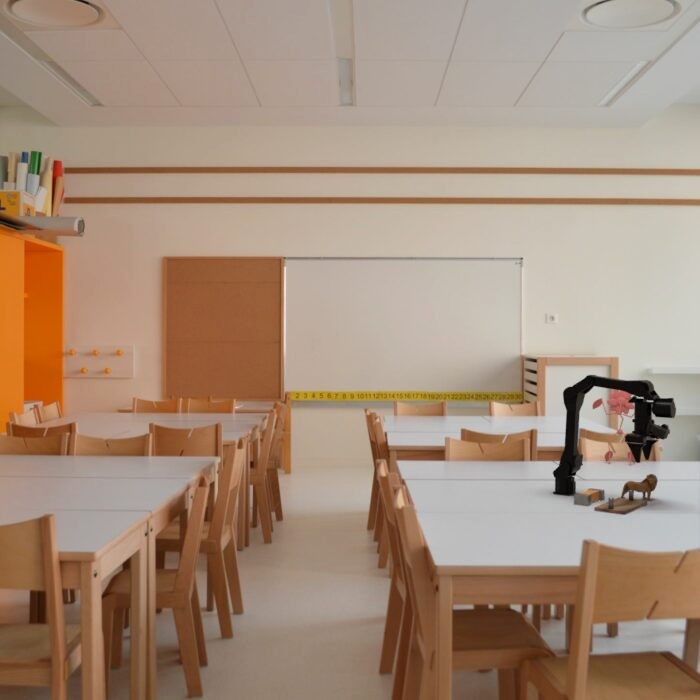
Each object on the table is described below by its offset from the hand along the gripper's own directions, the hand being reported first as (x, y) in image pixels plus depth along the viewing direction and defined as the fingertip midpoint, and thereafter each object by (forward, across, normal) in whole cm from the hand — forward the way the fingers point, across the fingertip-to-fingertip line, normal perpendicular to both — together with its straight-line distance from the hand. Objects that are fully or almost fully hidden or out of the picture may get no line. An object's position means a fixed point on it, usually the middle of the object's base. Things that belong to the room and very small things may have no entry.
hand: (642, 461), depth 272 cm
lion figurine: (+15, +7, +3) cm, 17 cm away
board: (+15, -11, +3) cm, 19 cm away
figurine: (+15, +91, +40) cm, 101 cm away
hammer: (+15, -9, +15) cm, 23 cm away
